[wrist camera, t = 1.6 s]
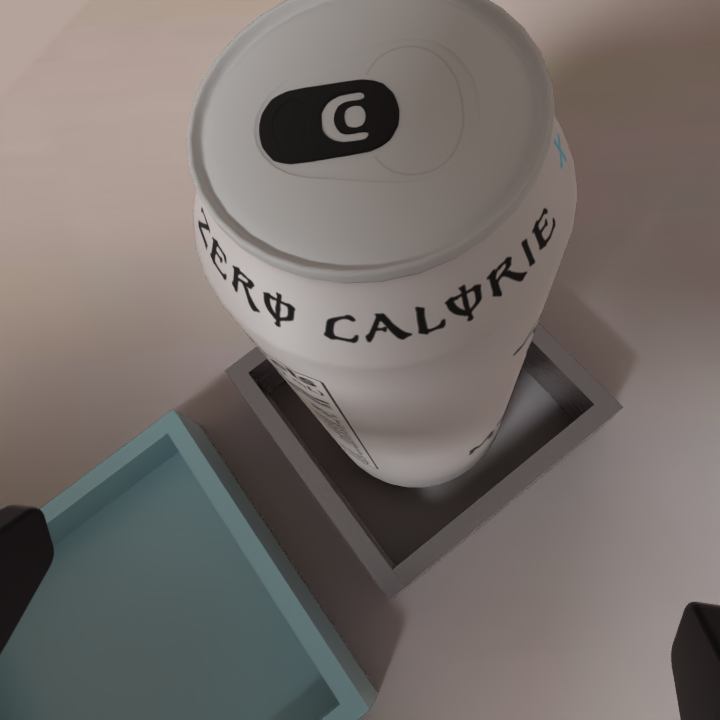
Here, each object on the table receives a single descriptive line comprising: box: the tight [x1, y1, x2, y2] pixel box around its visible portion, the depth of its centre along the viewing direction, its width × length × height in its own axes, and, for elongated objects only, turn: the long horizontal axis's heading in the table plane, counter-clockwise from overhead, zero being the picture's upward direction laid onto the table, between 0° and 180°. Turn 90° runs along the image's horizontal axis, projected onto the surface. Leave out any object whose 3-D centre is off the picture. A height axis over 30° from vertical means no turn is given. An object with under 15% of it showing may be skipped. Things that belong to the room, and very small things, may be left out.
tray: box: [0, 409, 378, 720], centre depth 19 cm, size 11×11×2 cm
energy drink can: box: [187, 0, 578, 487], centre depth 15 cm, size 6×6×15 cm
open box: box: [225, 323, 623, 600], centre depth 21 cm, size 9×9×2 cm
